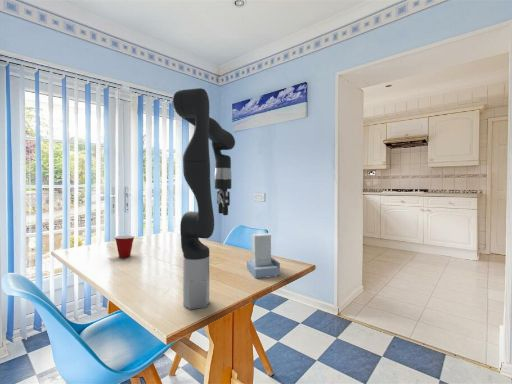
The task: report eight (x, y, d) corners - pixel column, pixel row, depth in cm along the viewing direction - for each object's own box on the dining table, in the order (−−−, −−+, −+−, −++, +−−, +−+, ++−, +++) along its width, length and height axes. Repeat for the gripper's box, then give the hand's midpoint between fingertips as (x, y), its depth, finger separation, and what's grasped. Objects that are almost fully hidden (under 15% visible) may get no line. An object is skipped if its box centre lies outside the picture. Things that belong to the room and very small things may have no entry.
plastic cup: (138, 254, 159) (138, 234, 158) (128, 259, 148) (128, 238, 148) (121, 253, 160) (121, 233, 160) (110, 258, 149) (109, 237, 149)
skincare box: (267, 261, 133) (267, 232, 133) (271, 265, 128) (271, 234, 127) (251, 262, 131) (251, 233, 130) (254, 266, 125) (255, 235, 125)
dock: (279, 275, 125) (279, 263, 125) (255, 278, 121) (255, 265, 121) (269, 266, 138) (269, 255, 138) (246, 268, 134) (246, 257, 134)
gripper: (211, 178, 125) (211, 213, 126) (218, 177, 112) (218, 216, 112) (227, 179, 128) (227, 212, 128) (235, 178, 115) (235, 215, 115)
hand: (223, 214), depth 120 cm, fingers open, 8 cm apart
